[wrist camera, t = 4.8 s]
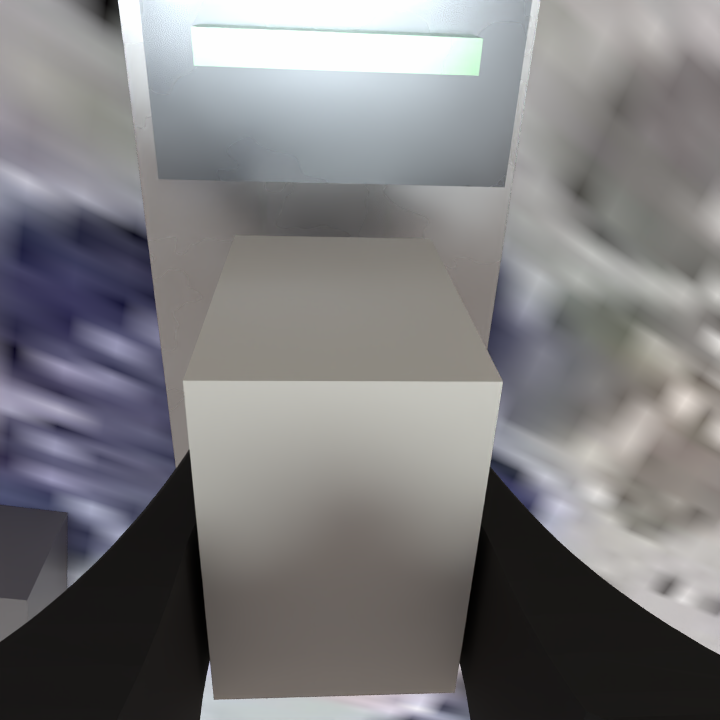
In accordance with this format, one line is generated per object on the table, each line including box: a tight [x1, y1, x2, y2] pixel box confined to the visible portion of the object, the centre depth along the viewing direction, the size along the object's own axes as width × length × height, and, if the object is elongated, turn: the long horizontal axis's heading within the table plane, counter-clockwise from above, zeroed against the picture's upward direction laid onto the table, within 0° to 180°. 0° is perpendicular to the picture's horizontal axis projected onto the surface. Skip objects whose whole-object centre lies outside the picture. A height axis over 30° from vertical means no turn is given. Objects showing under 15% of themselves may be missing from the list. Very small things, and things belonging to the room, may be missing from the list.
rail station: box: [118, 0, 540, 468], centre depth 18 cm, size 10×24×6 cm, turn 178°
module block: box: [183, 235, 503, 700], centre depth 12 cm, size 4×6×6 cm, turn 178°
